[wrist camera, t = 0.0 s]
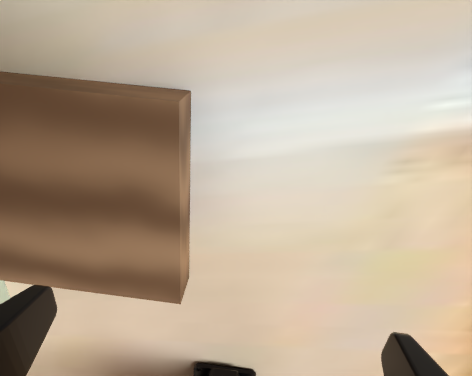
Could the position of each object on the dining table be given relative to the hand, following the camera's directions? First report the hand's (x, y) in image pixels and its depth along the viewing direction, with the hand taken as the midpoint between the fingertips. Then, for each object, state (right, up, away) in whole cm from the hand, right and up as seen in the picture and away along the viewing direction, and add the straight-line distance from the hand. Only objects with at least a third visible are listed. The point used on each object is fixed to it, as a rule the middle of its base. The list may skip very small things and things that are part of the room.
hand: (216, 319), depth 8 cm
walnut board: (-11, +4, +16) cm, 20 cm away
